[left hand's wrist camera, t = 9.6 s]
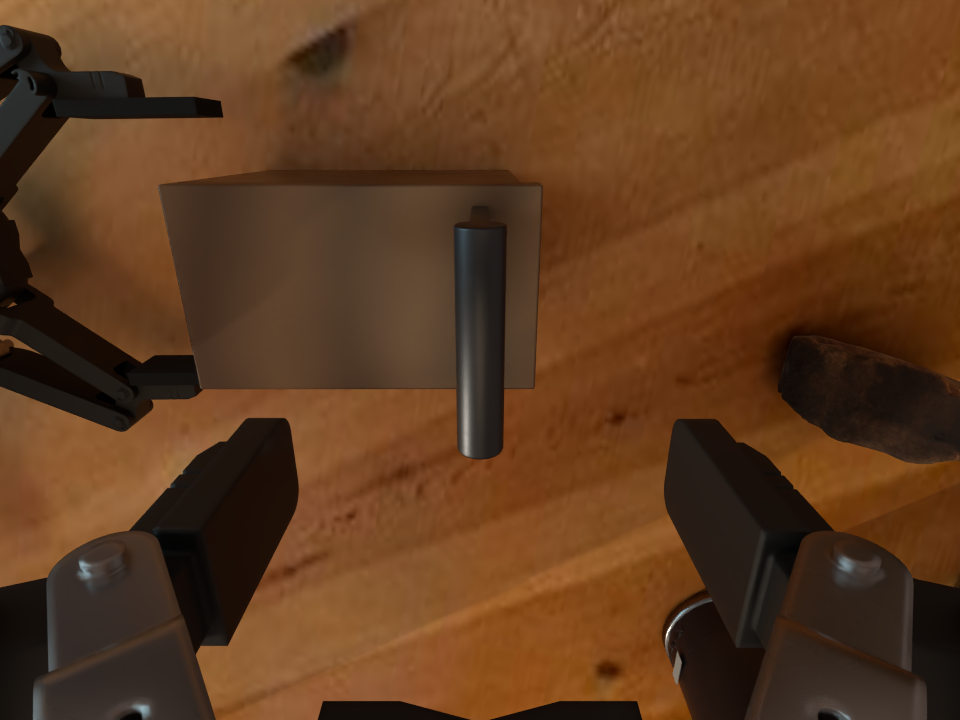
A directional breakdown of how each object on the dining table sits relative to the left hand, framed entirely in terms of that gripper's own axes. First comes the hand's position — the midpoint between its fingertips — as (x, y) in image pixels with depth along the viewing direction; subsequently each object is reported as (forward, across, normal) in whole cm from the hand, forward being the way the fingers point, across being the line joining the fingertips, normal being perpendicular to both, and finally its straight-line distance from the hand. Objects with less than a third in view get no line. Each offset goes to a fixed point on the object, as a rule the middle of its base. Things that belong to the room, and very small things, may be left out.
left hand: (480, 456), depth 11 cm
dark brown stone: (+25, -26, +9) cm, 37 cm away
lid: (+14, +5, 0) cm, 15 cm away
